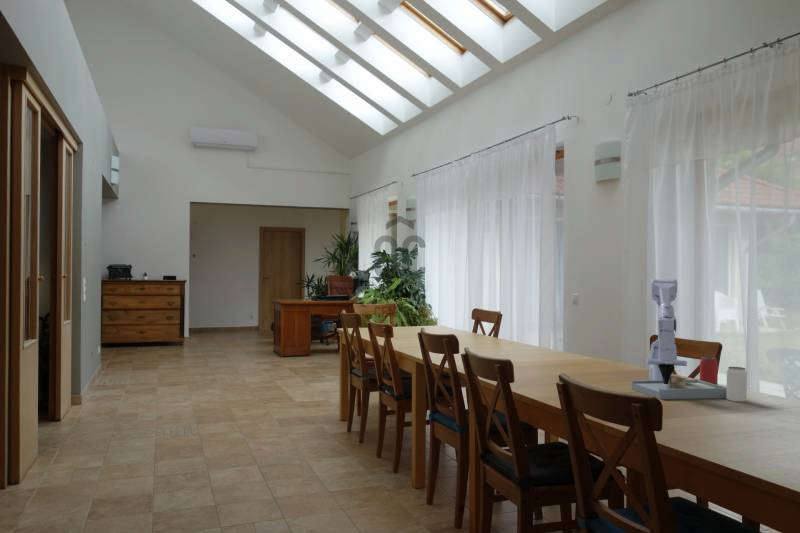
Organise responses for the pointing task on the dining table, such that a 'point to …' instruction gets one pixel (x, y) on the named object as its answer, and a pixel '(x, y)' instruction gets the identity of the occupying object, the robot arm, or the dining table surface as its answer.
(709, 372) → the beer can
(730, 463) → the dining table surface
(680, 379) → the block
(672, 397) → the trap box
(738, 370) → the can
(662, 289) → the robot arm
